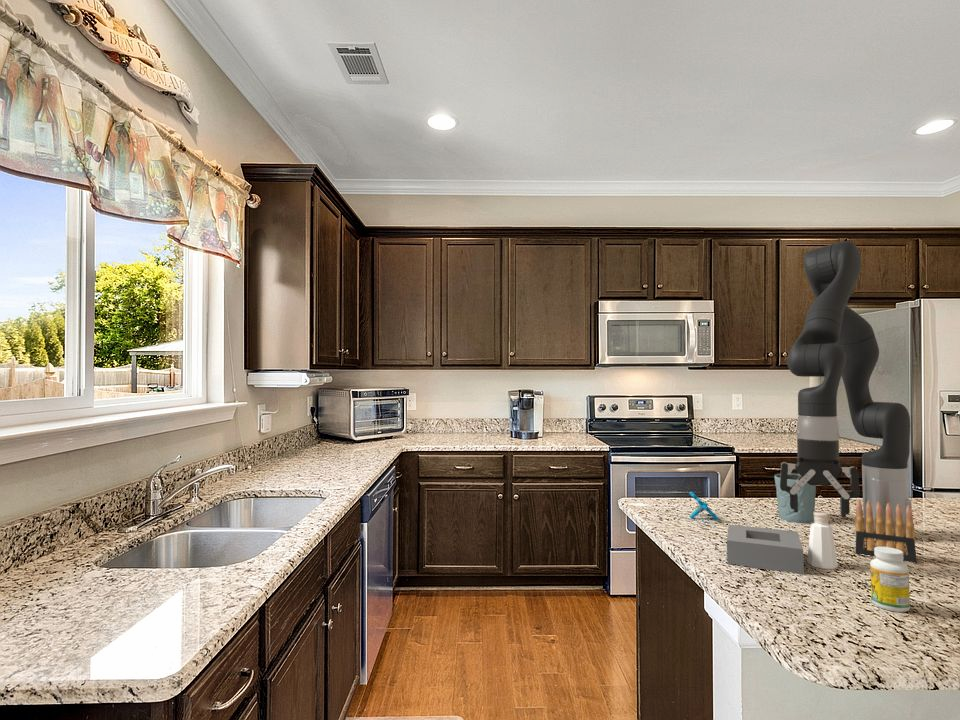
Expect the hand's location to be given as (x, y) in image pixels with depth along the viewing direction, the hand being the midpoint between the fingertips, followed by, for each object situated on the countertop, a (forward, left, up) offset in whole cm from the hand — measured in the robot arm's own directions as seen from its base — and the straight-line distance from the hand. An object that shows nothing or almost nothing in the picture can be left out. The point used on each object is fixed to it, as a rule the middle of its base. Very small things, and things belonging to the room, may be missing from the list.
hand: (818, 514), depth 114 cm
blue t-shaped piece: (+25, -30, -11) cm, 41 cm away
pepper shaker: (0, 0, -11) cm, 11 cm away
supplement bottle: (-8, +19, -11) cm, 23 cm away
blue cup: (+2, -40, -11) cm, 41 cm away
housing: (+11, +1, -11) cm, 15 cm away
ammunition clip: (-13, -12, -11) cm, 21 cm away
